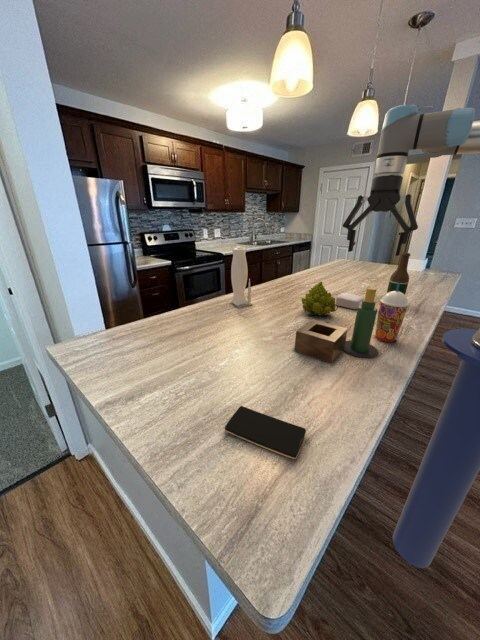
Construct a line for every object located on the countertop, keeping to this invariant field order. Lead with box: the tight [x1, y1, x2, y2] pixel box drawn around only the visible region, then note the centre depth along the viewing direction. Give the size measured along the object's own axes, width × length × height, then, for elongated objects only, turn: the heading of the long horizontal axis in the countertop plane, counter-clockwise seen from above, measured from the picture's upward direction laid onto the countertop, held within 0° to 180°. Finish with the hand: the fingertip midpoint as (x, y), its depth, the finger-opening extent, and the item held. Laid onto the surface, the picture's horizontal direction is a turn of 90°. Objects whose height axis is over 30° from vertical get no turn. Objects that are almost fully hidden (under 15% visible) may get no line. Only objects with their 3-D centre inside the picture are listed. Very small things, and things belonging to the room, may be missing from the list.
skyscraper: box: [230, 243, 253, 309], centre depth 119 cm, size 8×8×28 cm
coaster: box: [342, 340, 379, 359], centre depth 84 cm, size 11×11×1 cm
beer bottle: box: [386, 252, 411, 296], centre depth 123 cm, size 8×8×24 cm
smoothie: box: [374, 283, 410, 343], centre depth 88 cm, size 8×8×20 cm
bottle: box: [350, 286, 378, 352], centre depth 81 cm, size 5×5×20 cm
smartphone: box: [224, 405, 307, 460], centre depth 52 cm, size 7×1×15 cm
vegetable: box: [301, 281, 339, 317], centre depth 112 cm, size 15×16×15 cm
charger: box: [335, 292, 365, 311], centre depth 121 cm, size 5×9×15 cm
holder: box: [293, 318, 349, 364], centre depth 83 cm, size 12×12×7 cm
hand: (372, 253), depth 82 cm, fingers open, 13 cm apart
